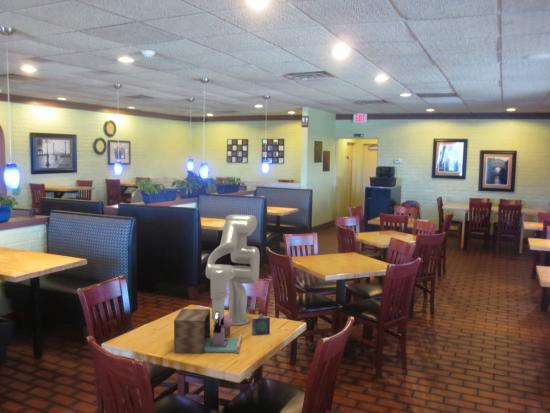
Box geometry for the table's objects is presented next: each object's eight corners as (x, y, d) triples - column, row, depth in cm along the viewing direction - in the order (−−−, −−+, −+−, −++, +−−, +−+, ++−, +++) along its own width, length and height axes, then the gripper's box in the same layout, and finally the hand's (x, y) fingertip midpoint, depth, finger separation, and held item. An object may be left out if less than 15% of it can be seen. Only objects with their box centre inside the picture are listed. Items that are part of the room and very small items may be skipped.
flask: (252, 335, 241) (252, 315, 240) (251, 333, 243) (251, 313, 242) (270, 334, 243) (270, 314, 242) (269, 332, 245) (269, 312, 244)
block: (214, 341, 229) (214, 327, 228) (224, 341, 229) (224, 327, 228) (212, 345, 224) (212, 331, 223) (223, 345, 224) (223, 331, 223)
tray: (200, 352, 218) (200, 346, 218) (206, 338, 235) (206, 332, 235) (238, 353, 218) (238, 346, 217) (242, 339, 235) (242, 333, 234)
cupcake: (235, 333, 244) (235, 314, 243) (227, 339, 236) (227, 319, 235) (219, 331, 247) (219, 312, 246) (212, 336, 239) (212, 317, 238)
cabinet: (174, 352, 218) (173, 320, 217) (182, 339, 235) (182, 308, 234) (204, 353, 218) (204, 320, 217) (210, 339, 235) (210, 309, 234)
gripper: (213, 288, 233) (214, 321, 235) (207, 300, 216) (208, 335, 218) (228, 289, 233) (229, 322, 235) (224, 300, 216) (224, 336, 218)
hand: (219, 328), depth 226 cm, fingers open, 9 cm apart
